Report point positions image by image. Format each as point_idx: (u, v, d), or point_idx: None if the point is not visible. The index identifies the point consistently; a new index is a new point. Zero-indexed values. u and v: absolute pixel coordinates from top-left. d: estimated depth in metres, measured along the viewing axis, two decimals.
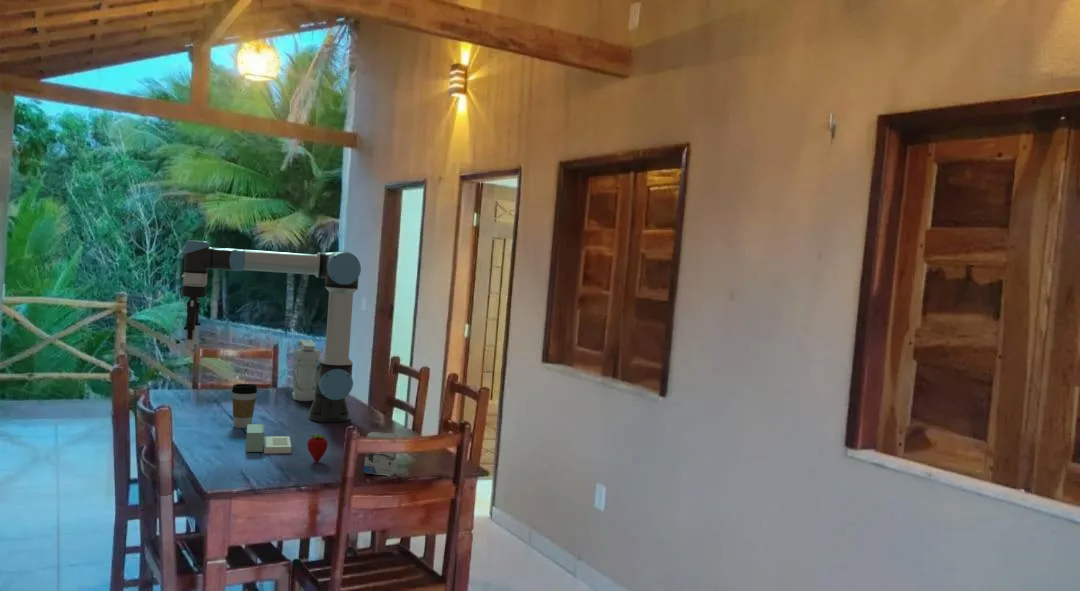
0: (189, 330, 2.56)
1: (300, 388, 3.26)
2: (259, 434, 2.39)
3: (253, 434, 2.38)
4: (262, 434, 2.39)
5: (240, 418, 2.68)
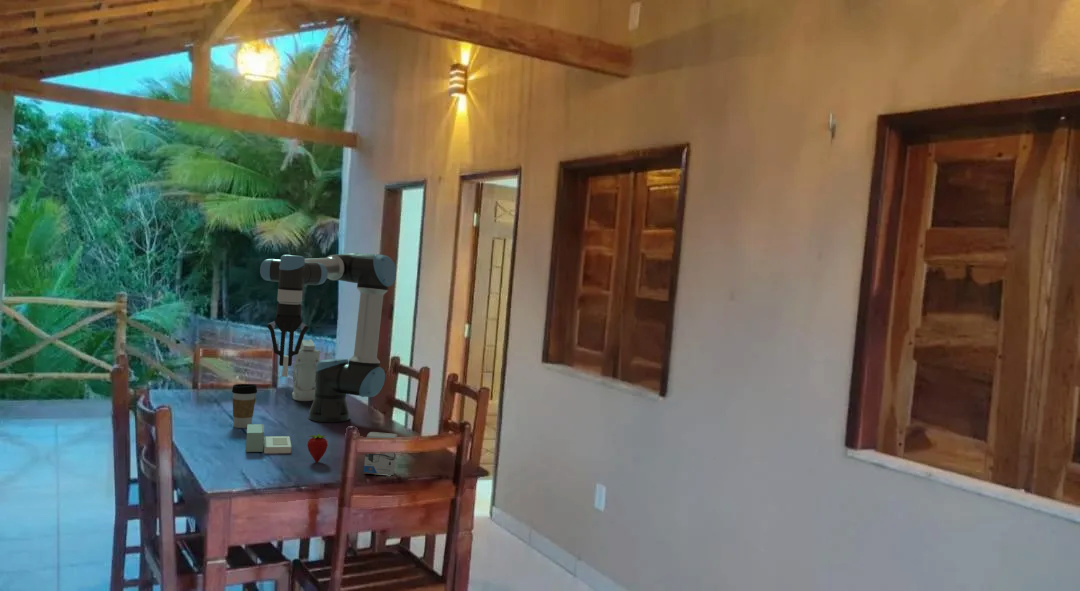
0: (279, 355, 2.45)
1: (300, 388, 3.26)
2: (259, 434, 2.39)
3: (253, 434, 2.38)
4: (262, 434, 2.39)
5: (240, 418, 2.68)
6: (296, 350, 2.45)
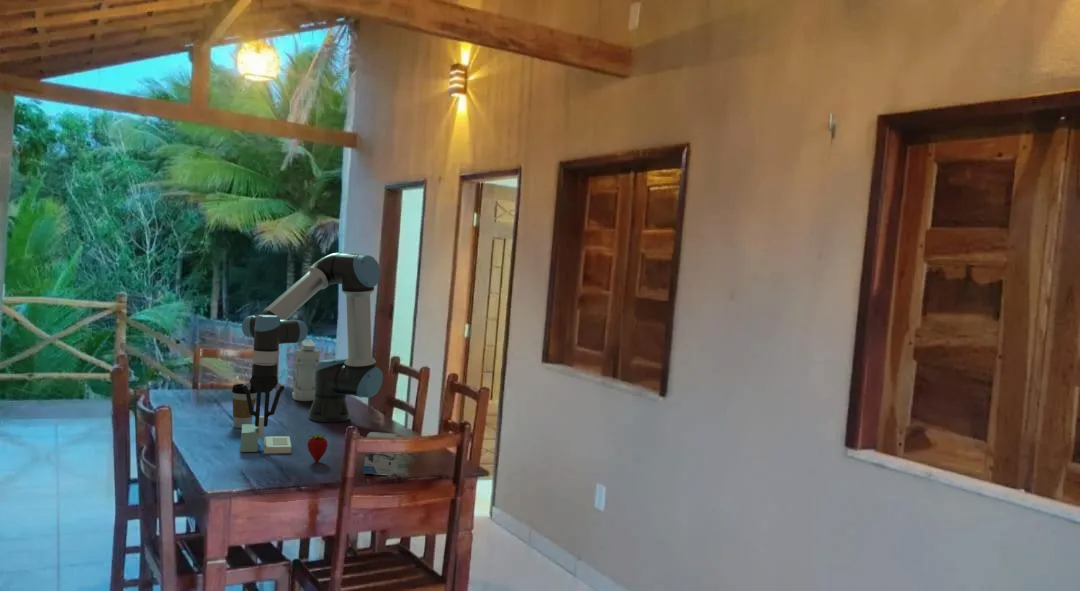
0: (255, 416, 2.44)
1: (300, 388, 3.26)
2: (254, 434, 2.38)
3: (248, 434, 2.37)
4: (257, 434, 2.38)
5: (240, 418, 2.68)
6: (272, 411, 2.44)
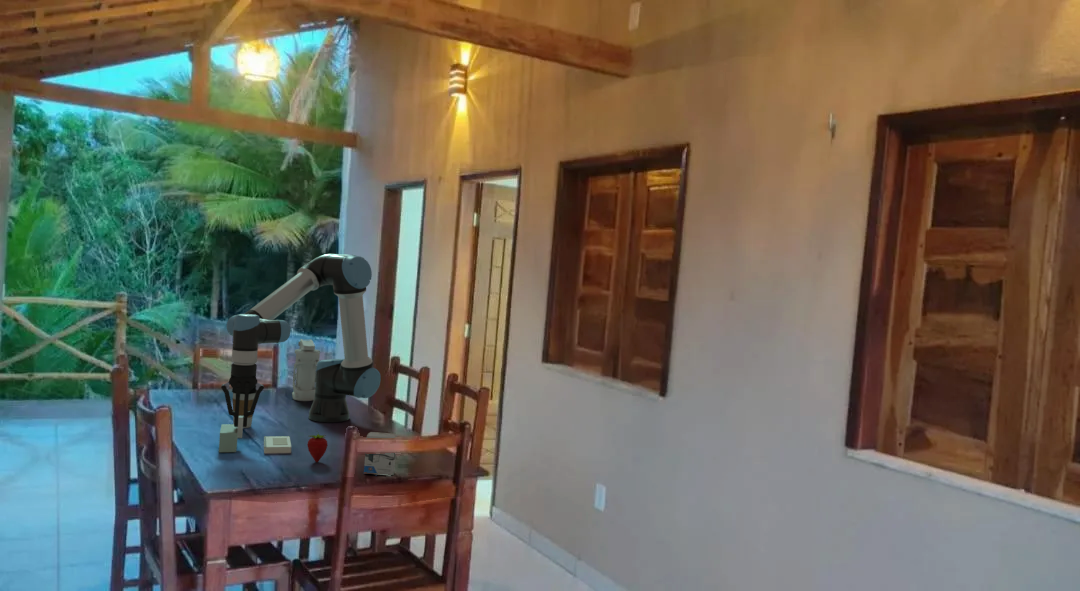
0: (234, 416, 2.42)
1: (300, 388, 3.26)
2: (232, 434, 2.36)
3: (226, 434, 2.35)
4: (235, 434, 2.36)
5: None
6: (251, 411, 2.42)
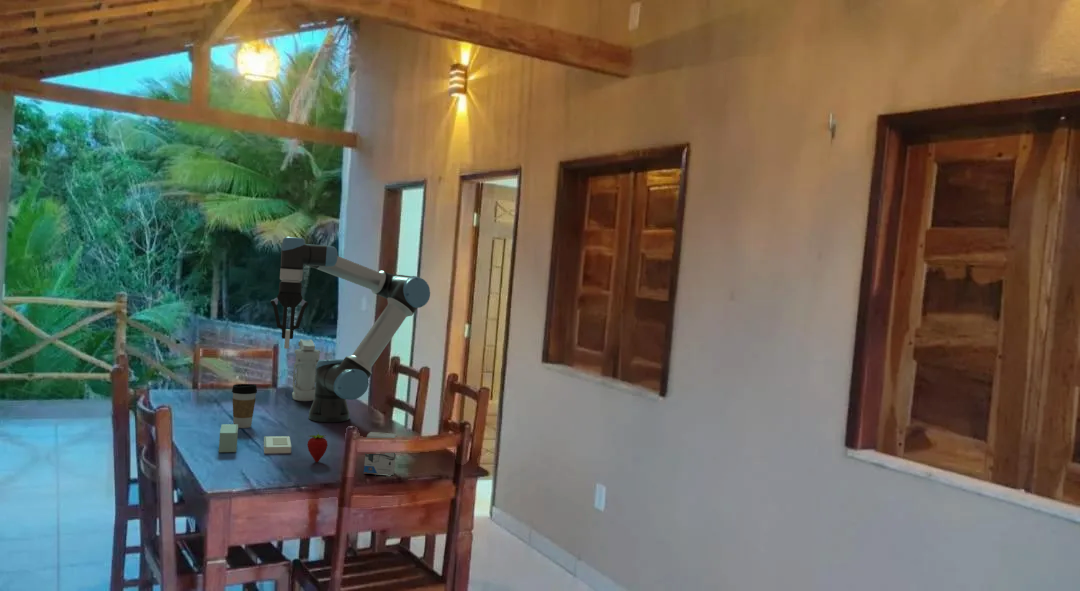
0: None
1: (300, 388, 3.26)
2: (232, 434, 2.36)
3: (226, 434, 2.35)
4: (235, 434, 2.36)
5: (240, 418, 2.68)
6: (297, 324, 2.68)
